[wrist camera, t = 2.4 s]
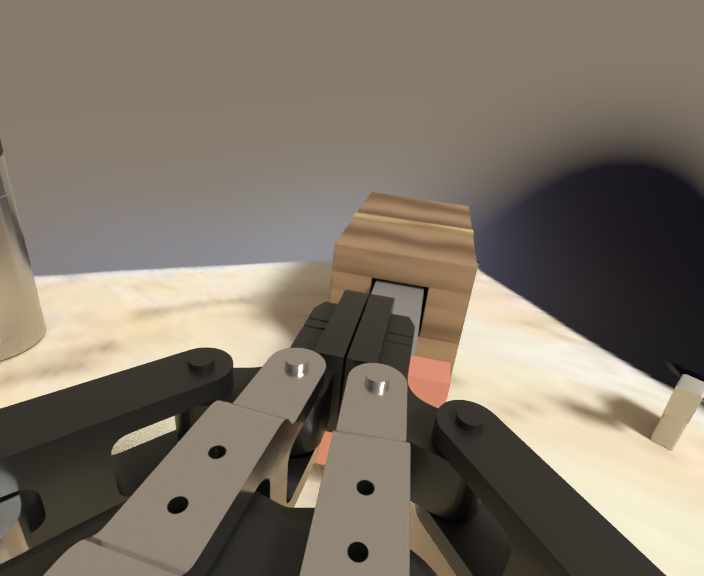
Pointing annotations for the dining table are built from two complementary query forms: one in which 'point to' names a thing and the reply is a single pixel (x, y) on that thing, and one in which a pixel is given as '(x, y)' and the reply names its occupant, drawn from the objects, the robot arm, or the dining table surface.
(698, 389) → the lighter
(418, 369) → the salmon square plate
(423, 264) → the block
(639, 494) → the dining table surface
